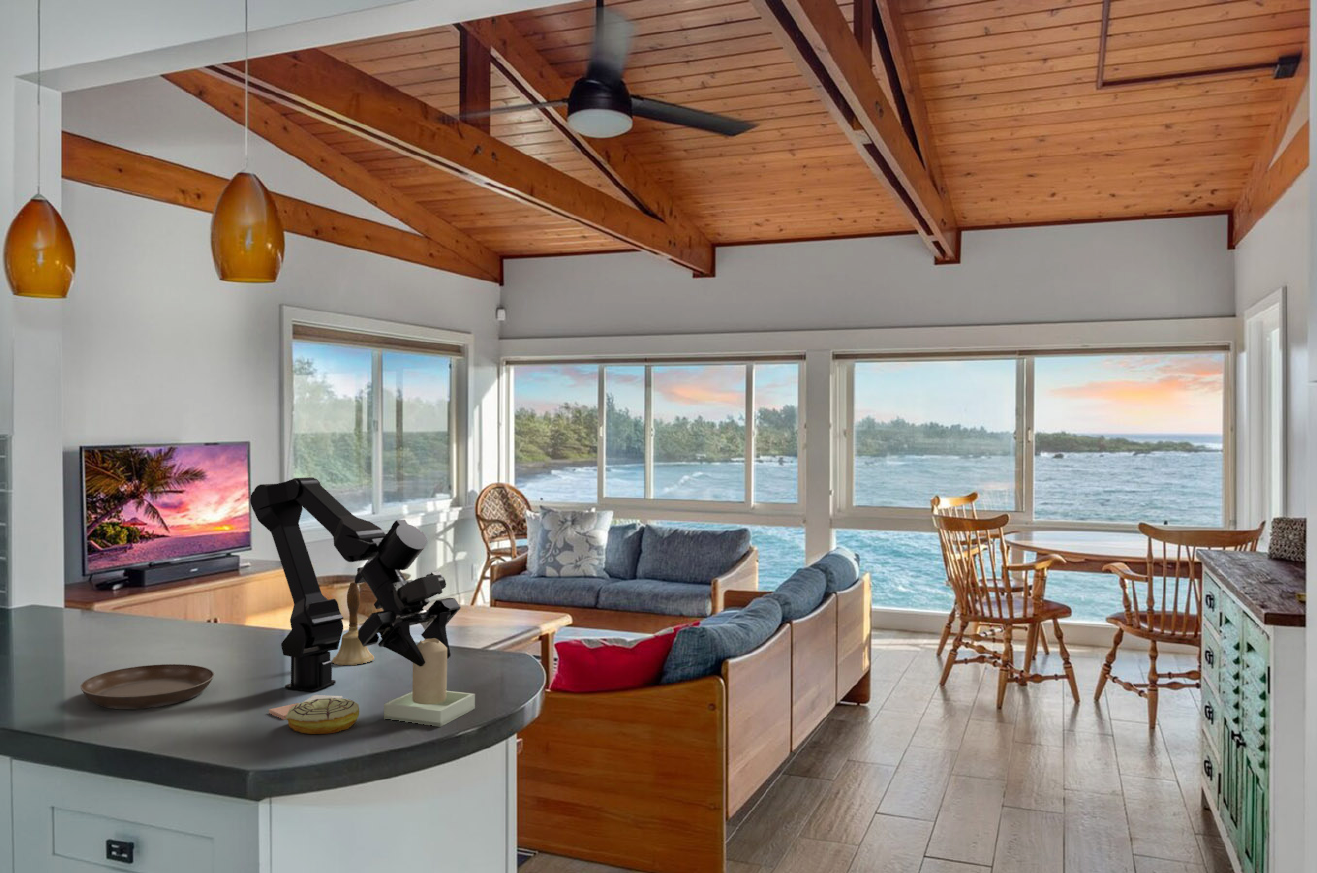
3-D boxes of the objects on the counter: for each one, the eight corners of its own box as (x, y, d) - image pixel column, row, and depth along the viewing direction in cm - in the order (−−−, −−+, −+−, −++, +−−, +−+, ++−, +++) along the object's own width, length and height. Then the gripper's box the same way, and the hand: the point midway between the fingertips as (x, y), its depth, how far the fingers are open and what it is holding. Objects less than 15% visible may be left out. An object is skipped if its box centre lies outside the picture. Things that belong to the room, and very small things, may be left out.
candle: (444, 704, 155) (445, 643, 155) (409, 705, 155) (410, 643, 155) (448, 695, 161) (449, 636, 161) (414, 695, 160) (415, 636, 160)
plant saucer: (232, 697, 167) (232, 679, 167) (100, 722, 152) (101, 701, 152) (190, 675, 181) (190, 658, 181) (65, 696, 167) (65, 677, 167)
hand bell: (322, 663, 191) (323, 584, 191) (350, 654, 199) (351, 578, 198) (356, 667, 188) (357, 587, 188) (383, 658, 195) (384, 581, 195)
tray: (383, 719, 154) (384, 704, 154) (420, 702, 164) (421, 687, 164) (440, 726, 151) (440, 711, 151) (474, 708, 161) (474, 694, 161)
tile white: (301, 710, 161) (301, 703, 161) (314, 701, 166) (314, 695, 166) (330, 711, 160) (330, 704, 160) (342, 703, 165) (342, 696, 165)
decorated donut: (317, 714, 158) (317, 691, 158) (372, 721, 154) (372, 698, 154) (272, 732, 148) (273, 708, 148) (330, 740, 144) (331, 715, 144)
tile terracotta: (269, 716, 157) (269, 709, 157) (297, 710, 161) (298, 703, 161) (283, 723, 154) (283, 715, 154) (312, 716, 157) (312, 709, 157)
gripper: (371, 563, 152) (420, 642, 146) (453, 551, 168) (500, 622, 162) (336, 607, 156) (383, 685, 150) (420, 591, 172) (465, 661, 166)
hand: (435, 661), depth 157 cm, fingers closed on candle, 5 cm apart
